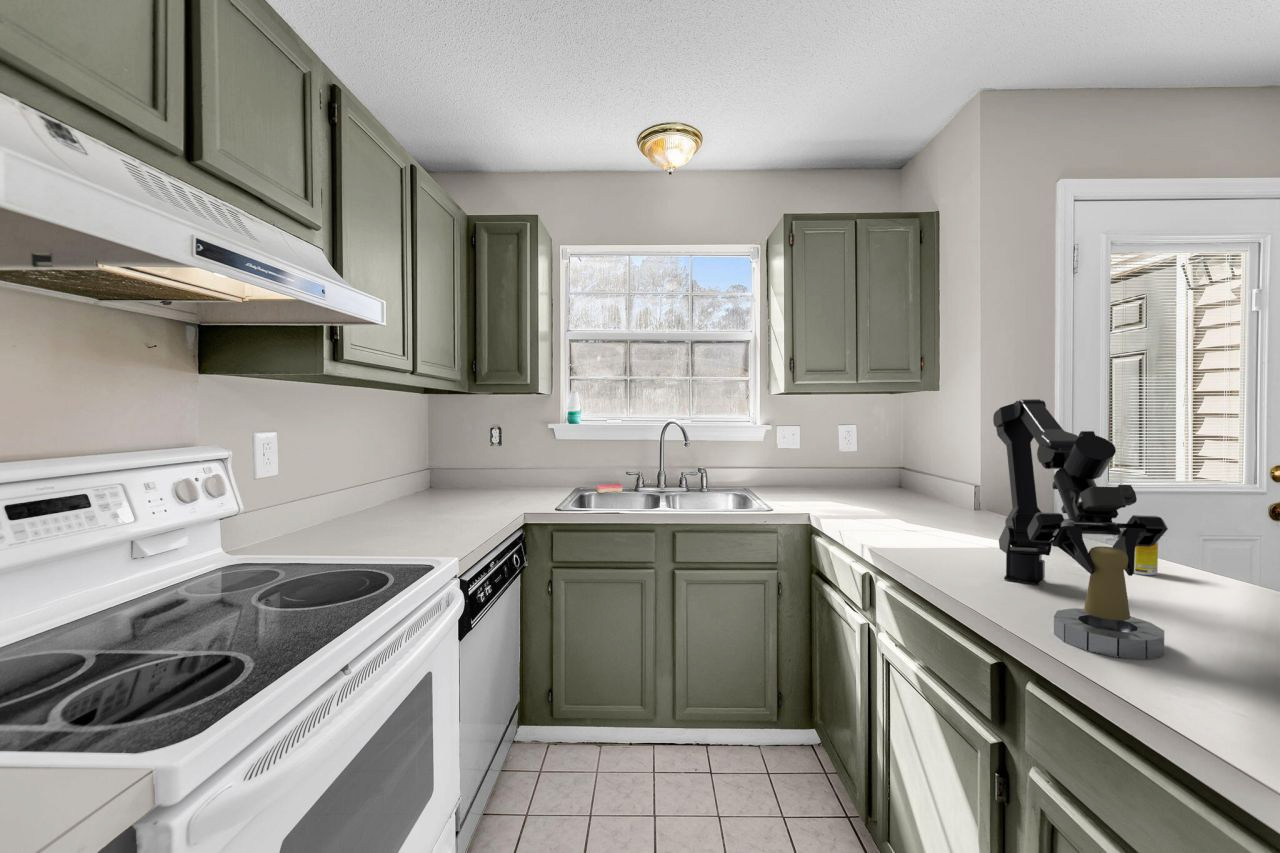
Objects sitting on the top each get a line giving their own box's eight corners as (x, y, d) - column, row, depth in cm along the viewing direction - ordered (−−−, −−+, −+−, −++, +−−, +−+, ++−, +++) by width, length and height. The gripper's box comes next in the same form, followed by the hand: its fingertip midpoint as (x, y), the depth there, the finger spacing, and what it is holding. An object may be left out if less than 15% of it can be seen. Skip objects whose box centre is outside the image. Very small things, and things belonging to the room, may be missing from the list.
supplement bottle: (1163, 575, 133) (1164, 530, 133) (1144, 577, 132) (1145, 532, 132) (1138, 568, 138) (1138, 525, 138) (1119, 570, 137) (1120, 527, 137)
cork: (1077, 606, 100) (1078, 542, 100) (1118, 608, 99) (1119, 544, 98) (1094, 618, 94) (1095, 551, 94) (1138, 621, 93) (1140, 553, 92)
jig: (1048, 642, 96) (1048, 624, 96) (1061, 619, 106) (1061, 603, 106) (1162, 667, 87) (1162, 647, 86) (1165, 639, 97) (1165, 621, 97)
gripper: (1034, 466, 102) (1063, 544, 91) (1162, 468, 97) (1206, 550, 87) (1016, 503, 110) (1040, 579, 99) (1133, 506, 105) (1171, 586, 95)
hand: (1111, 573), depth 95 cm, fingers closed on cork, 5 cm apart
